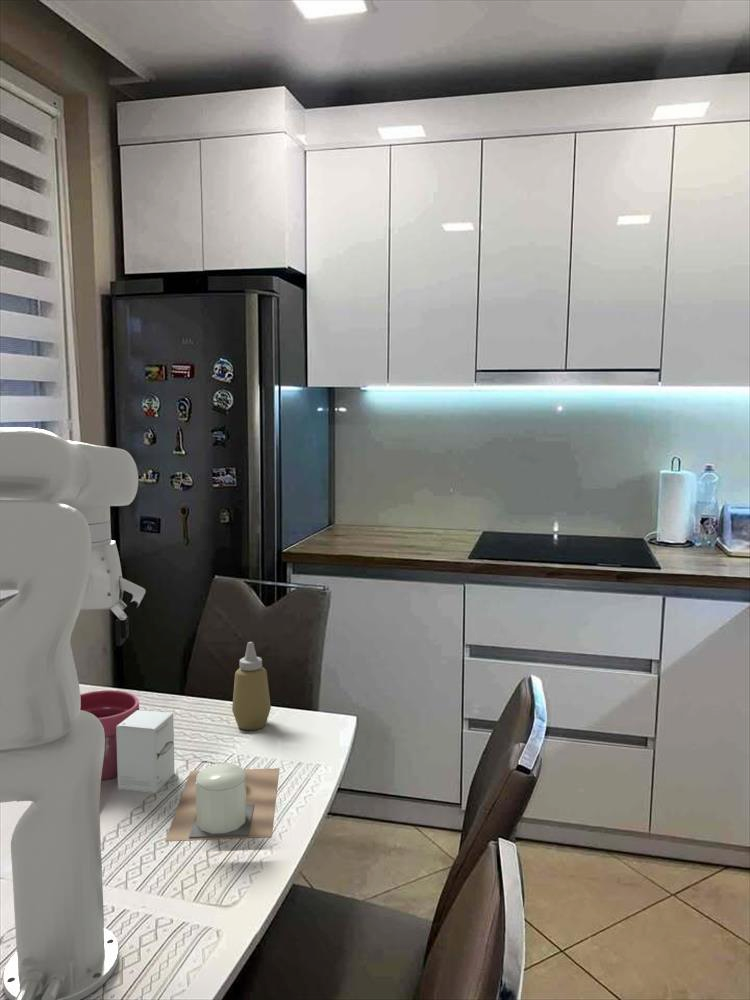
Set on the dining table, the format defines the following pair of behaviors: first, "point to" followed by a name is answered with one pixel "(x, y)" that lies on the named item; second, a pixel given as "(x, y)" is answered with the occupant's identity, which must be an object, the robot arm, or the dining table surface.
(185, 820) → the tan flat board
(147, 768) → the supplement box
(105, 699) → the plant pot
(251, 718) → the squeeze bottle
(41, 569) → the robot arm
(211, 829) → the sage cup
